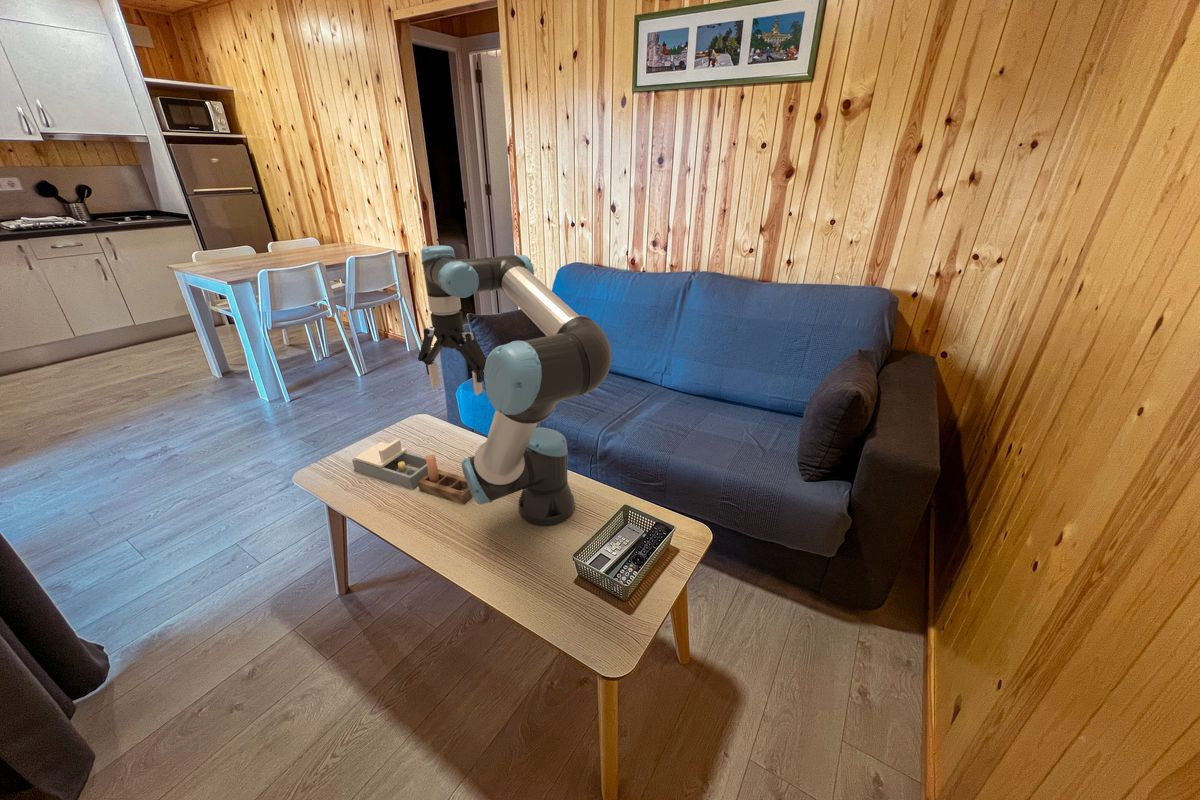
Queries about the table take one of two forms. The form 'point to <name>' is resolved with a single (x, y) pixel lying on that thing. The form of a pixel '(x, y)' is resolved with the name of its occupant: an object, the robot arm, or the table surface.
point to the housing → (401, 476)
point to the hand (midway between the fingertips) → (456, 389)
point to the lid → (381, 453)
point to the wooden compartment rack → (447, 492)
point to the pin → (432, 468)
